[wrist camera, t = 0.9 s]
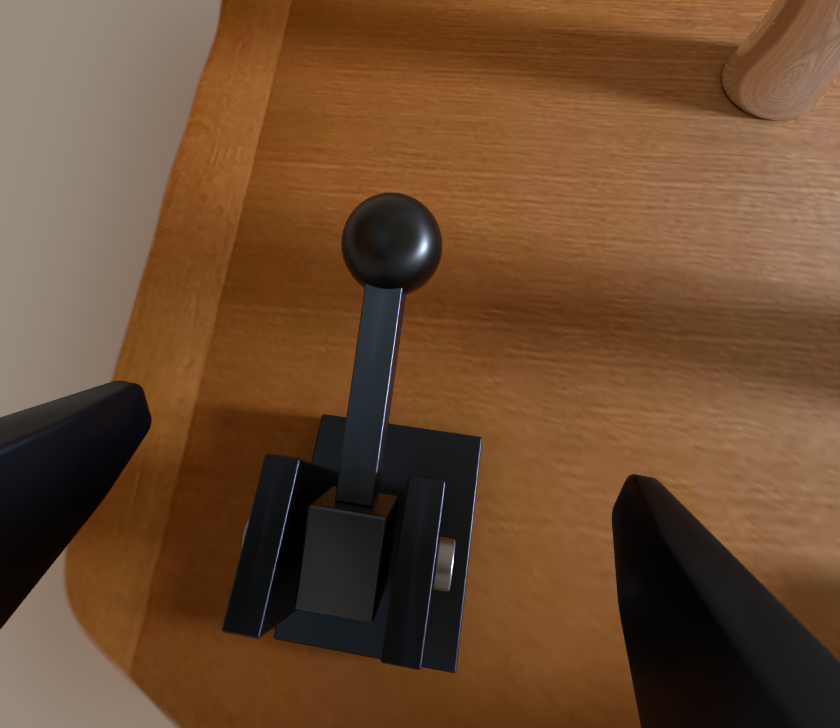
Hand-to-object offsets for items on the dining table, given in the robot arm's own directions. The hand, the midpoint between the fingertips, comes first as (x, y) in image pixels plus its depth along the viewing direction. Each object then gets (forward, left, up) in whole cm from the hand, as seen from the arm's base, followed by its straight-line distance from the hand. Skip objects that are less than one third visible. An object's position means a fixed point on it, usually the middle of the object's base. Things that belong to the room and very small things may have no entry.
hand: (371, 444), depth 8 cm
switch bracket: (-3, 0, -15) cm, 15 cm away
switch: (+2, +2, -6) cm, 7 cm away
